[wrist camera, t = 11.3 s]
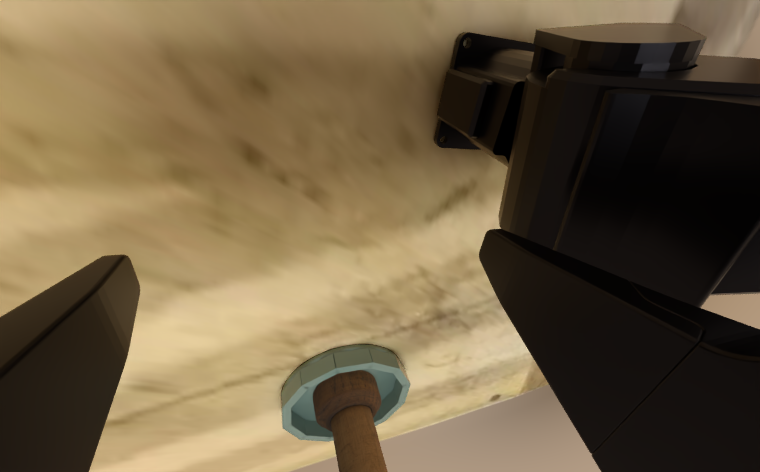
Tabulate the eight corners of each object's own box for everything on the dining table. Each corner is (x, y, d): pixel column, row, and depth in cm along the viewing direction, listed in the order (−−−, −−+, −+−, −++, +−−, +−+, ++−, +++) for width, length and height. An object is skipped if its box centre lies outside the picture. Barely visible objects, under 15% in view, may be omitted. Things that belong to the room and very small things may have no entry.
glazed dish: (411, 336, 33) (419, 354, 31) (391, 407, 40) (397, 425, 38) (279, 355, 29) (281, 377, 28) (282, 430, 36) (283, 451, 34)
